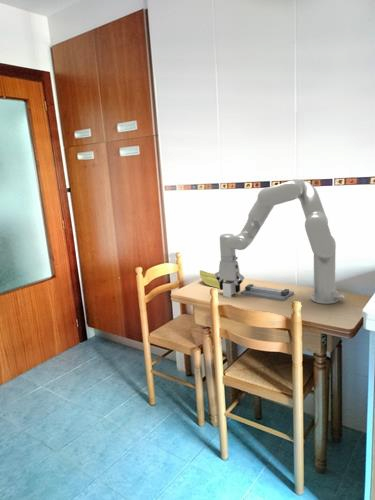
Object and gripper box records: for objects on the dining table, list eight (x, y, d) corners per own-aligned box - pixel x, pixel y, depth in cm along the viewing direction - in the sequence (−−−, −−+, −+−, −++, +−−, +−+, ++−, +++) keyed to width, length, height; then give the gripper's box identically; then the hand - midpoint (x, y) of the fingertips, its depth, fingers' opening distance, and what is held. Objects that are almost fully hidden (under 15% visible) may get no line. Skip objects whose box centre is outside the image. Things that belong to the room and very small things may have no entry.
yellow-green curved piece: (235, 279, 220) (226, 276, 213) (232, 292, 220) (222, 289, 212) (208, 272, 233) (198, 269, 225) (204, 284, 232) (194, 281, 225)
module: (237, 293, 202) (236, 280, 201) (230, 297, 197) (230, 283, 196) (230, 292, 205) (229, 279, 203) (223, 296, 200) (222, 282, 199)
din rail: (289, 293, 193) (289, 289, 193) (284, 296, 189) (284, 292, 189) (250, 287, 207) (250, 284, 206) (245, 290, 203) (245, 286, 202)
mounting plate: (294, 293, 195) (294, 291, 195) (283, 301, 186) (283, 298, 186) (251, 287, 210) (251, 285, 210) (240, 294, 201) (240, 292, 201)
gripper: (246, 258, 195) (248, 290, 198) (218, 255, 205) (219, 286, 209) (239, 261, 189) (240, 295, 192) (209, 258, 200) (211, 290, 203)
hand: (229, 290), depth 201 cm, fingers open, 9 cm apart
